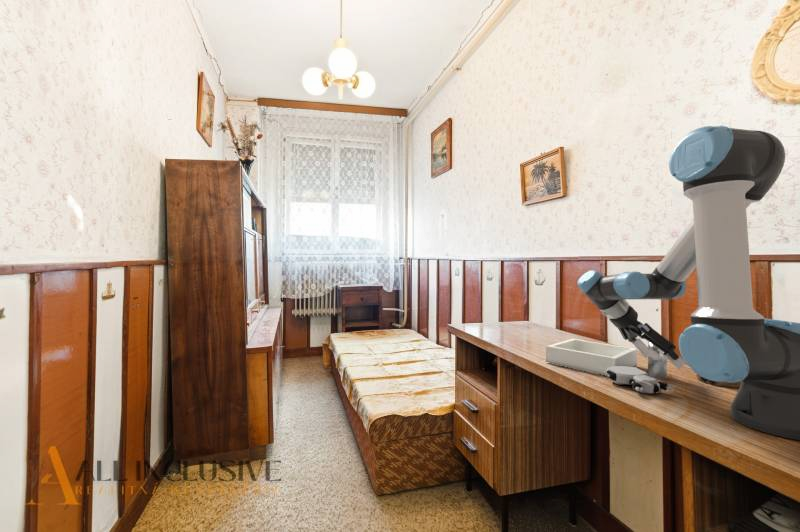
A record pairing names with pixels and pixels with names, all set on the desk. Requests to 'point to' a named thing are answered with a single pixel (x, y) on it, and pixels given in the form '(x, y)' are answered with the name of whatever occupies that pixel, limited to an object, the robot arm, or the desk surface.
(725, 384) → the bread roll
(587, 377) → the desk surface
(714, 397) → the desk surface
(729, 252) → the robot arm
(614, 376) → the robot toy
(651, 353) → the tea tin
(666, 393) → the desk surface
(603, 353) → the bin
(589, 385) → the desk surface
